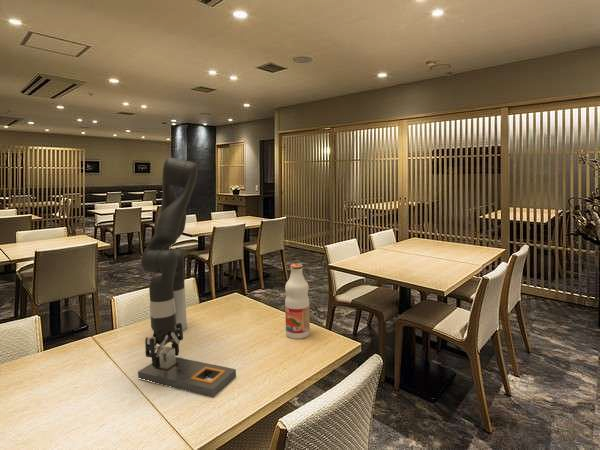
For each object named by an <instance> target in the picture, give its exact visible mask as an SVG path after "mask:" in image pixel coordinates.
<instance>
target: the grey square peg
mask: <svg viewBox="0 0 600 450" xmlns="http://www.w3.org/2000/svg"><path fill="white" fill-rule="evenodd" d="M156 352H157V350H156V351H155V353H156ZM159 356H160V367H159V368H157V369H159V370H164V371H169V370H170V369H172V368H173V367H174V366H176V359H175V357H176V356H175V348H172V346H166V345H164V347H163V349H162V350H161V352H160V354H159Z"/></svg>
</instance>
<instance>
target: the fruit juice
mask: <svg viewBox="0 0 600 450" xmlns="http://www.w3.org/2000/svg"><path fill="white" fill-rule="evenodd" d="M289 269H290V275H289V278H288V280H287V281H286V282H285V286H284V287H285V288H284V290H285V293H286V296H285V300H284V302H285V303H284V305H285V309H284V311H285V334H286V336H287V337H288V338H290V339H294V340H300V339H305V338H307V337H308V336H310V333H311V331H310V329H311V327H310V298H309V296H308V295H309V294H308V293H309V282H308V281H307V280H306V279H305V277H304V273H303V269H304V265H303V264H302V263H292V264H290V266H289Z"/></svg>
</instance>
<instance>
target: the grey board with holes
mask: <svg viewBox="0 0 600 450" xmlns="http://www.w3.org/2000/svg"><path fill="white" fill-rule="evenodd" d="M175 359H176V366H174V367H173V368H172V369H170V370H169V371H164V370H159V369H157V368H154V367H153V366H152V362H151V363H149V364H147V366H145V367H142V368H141V369H139V370H138V371H137V375H138V377H137V378H141V379H145V380H149V381H152V382H155V383H154V384H156V383H159V384H158V385H160V384H163V385H162V386H164V385H167V386H166V387H169V386H171V387H170V388H173V387H174V388H173V389H177V388H178V389H177V390H181V389H182V390H181V391H185V390H186V392H189V391H190V392H189V393H193V392H194V394H197V395H198V394H199V395H202V396H207V397H210V398H215V397H216V396H217V395H218V394H219V393H220V392H221V391H222V390H224V388H226V387H227V386H228V385H229V384H230V383H231V382H232V381H233V380H234V379H236V377H237V370H236V369H237V368H231V367H228V366H221V365H217V364H212V363H208V362H203V361H197V360H193V359H188V358H183V357H180V356H179V357H177V356H175ZM206 378H210V380H208V379H206ZM152 382H151V383H152Z"/></svg>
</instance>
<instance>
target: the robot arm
mask: <svg viewBox="0 0 600 450" xmlns="http://www.w3.org/2000/svg"><path fill="white" fill-rule="evenodd" d="M198 168H199V167H198V164H197V163H195V162H193V161H189V160H185V159H180V158H176V157H167V158H165V161H164V163H163V167H162V179H161V180H162V183H161V186H162V188H161V189H162V193H161V194H162V195H161V204H160V205H161V207H160V213H159V217H158V219H157V221H156V222H157V223H156V226H155V230H154V234H153V236H152V237H151V239H150V241H149V243H148V244H147V246H146V248H145V249H144V251H143V253H142V255H141V257H140V259H141V260H140V264H141V267H142V269H143V270H144V272H147V273H156V274H157V273H158V274H161V276H160V278H157V279H154V280H152V281H151V282H150V283H149V285H148V287H149V288H148V290H149V313H150V314H149V316H150V328H151V330H152V331H153V335H152V336H150V337H148V336H147V337H145V340H144V344H145V346H144V347H145V357H147V358H150V359H151V363H152V366H153V367H154V368H159V367H160V356H159V354H160V352H161V350H162V349H163V347H165V346H166V345H167V344H169V343H171V345H170V347H171V348H175V357H177V356H179V353H180V342H181V341H183V339H184V332H183V331H185V330H187V328H188V322H187V321H188V319H187V305H186V302H187V301H186V291H185V290H186V287H185V256H184V253H183V251H182V249H180V248H173V249H170V248H171V247H172V245H175V244H176V243H177V240H178V239H179V238H180V237H181V235H183V233H184V231H185V227H186V223H187V212H186V209H187V207H188V205H189V203H190V199H191V197H192V195H193V191H194V189H195V186H196V183H197V177H198V171H199V169H198ZM175 187H179V188H182V190H181V192H180V194H179V195H178V196H177V194H176V191H175ZM156 351H157V352H156Z"/></svg>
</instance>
